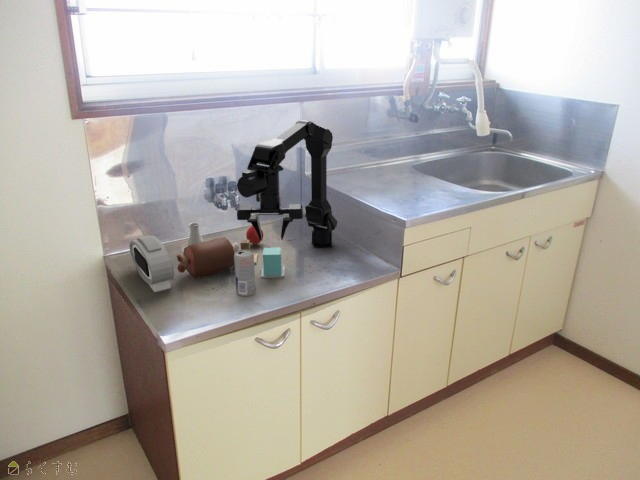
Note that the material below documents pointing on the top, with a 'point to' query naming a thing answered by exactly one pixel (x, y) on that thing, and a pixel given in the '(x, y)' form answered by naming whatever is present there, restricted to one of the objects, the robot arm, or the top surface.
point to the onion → (253, 236)
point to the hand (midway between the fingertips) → (271, 239)
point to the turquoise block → (272, 261)
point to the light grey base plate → (273, 275)
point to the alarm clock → (152, 262)
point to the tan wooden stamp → (246, 245)
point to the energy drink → (244, 272)
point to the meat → (207, 257)
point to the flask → (194, 234)
